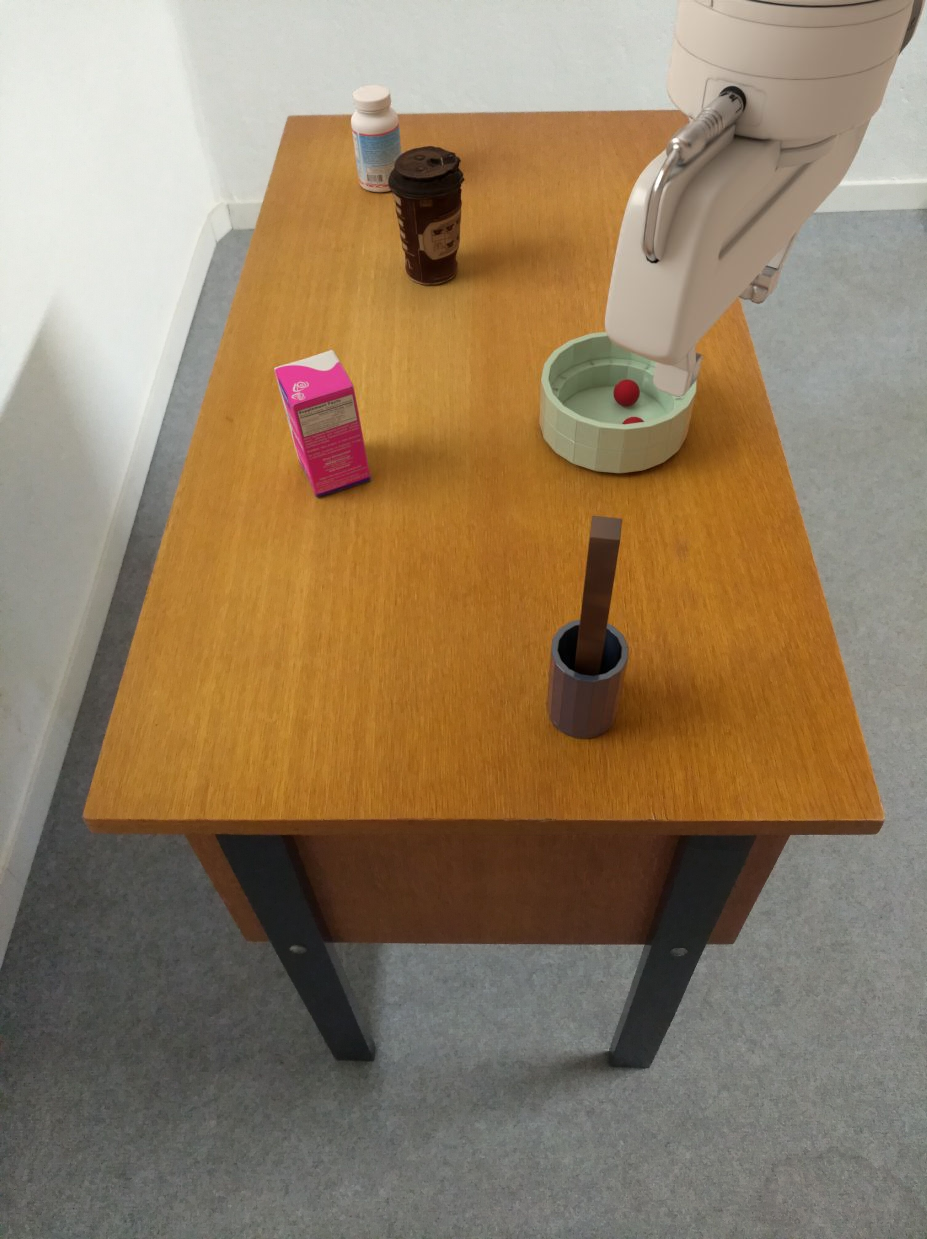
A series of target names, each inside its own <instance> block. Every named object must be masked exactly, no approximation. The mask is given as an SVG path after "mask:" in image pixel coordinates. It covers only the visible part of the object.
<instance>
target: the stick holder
mask: <svg viewBox="0 0 927 1239" xmlns="http://www.w3.org/2000/svg"><path fill="white" fill-rule="evenodd" d="M579 625H580V619H575V620H571V621H569V622H568V623H566V624H564V625H563V626H561V627H560V628H558V630H557V631H556V633H555V634H554V636H553V637H552V639H551V647H550V657H549V658H550V659H549V670H548V682H547V696H546V711H547V716H548V718H549V720H550V722H551V724H552V725H553V726H554V727H555V728H556V730H558V731H559V732H560V733H563V734H564V735H565V736H568V737H571V738H575V739H584V740H585V739H586V740H587V739H593V738H596V737H599V736H602V735H604V733H606V732H607V731H608V730H609V729H610V728H611V727H612V726H613V725H614V723H615V721H616V720H617V716H618V713H619V712H618V711H619V707H620V702H621V698H622V697H621V696H622V692H623V686H624V681H625V676H626V671H627V667H628V661H629V649H630V648H629V645H628V643H627V640H626V637H625V636H624V634H623V633H621V631H619V629H617V627H615V626H614V625H613V624H611V623H607V629H606V636H605V642H604V648H603V655H602V661H601V668H600V674H599V675H596V676H590V675H582V674H579V673H577V672H575V671H574V669H575V660H576V652H577V643H578V634H579Z"/></svg>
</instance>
